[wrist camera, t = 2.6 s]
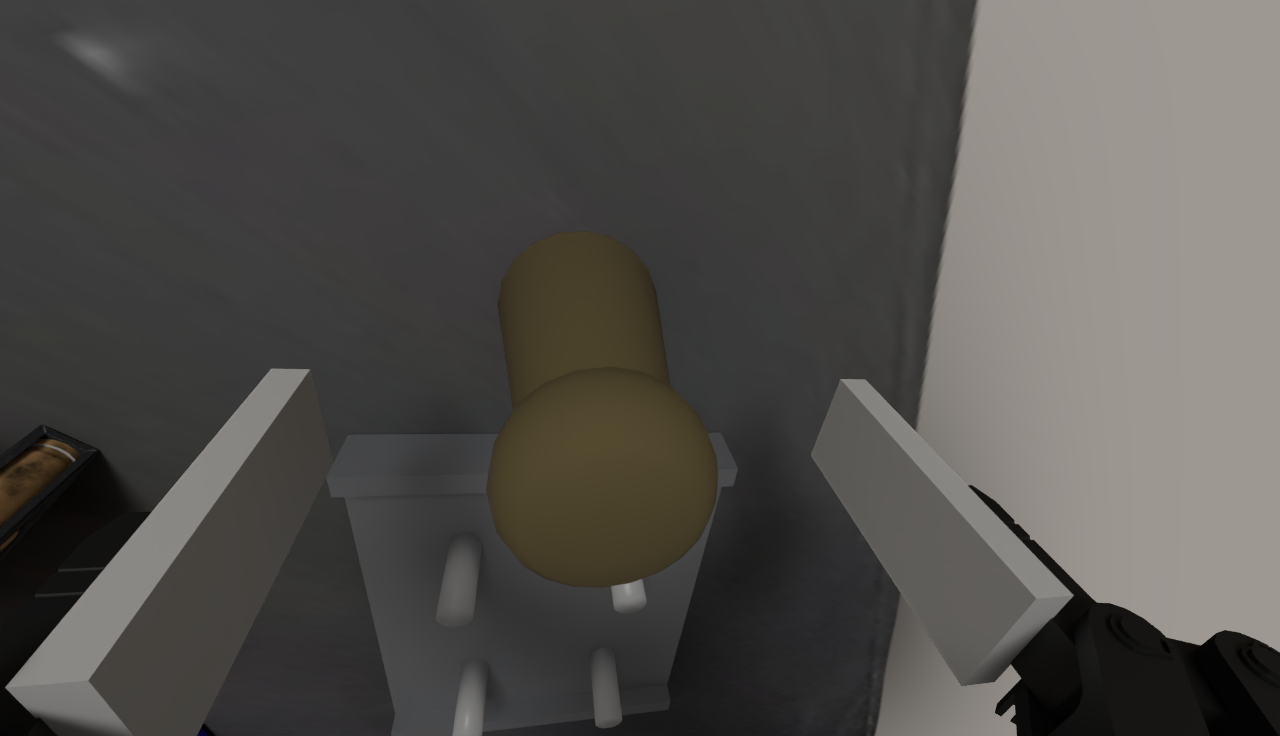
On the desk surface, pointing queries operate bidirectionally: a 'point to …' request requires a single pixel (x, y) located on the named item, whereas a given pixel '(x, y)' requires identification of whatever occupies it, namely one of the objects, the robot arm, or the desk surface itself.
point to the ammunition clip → (36, 480)
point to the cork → (594, 421)
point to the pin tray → (496, 599)
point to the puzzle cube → (203, 732)
